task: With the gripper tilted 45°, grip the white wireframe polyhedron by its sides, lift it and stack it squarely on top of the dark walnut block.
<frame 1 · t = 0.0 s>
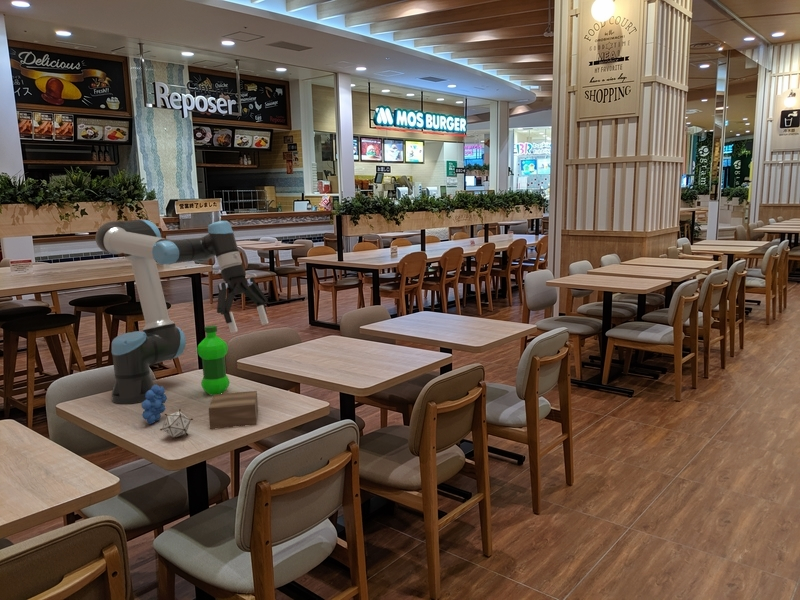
hand: (250, 328, 203), 28 cm above the table, tool tilted 20°, fingers open, 13 cm apart
white wireframe polyhedron: (177, 437, 185), on the table
plastic bottle: (216, 393, 225), on the table
grapes: (153, 421, 198), on the table
walnut block: (235, 420, 198), on the table
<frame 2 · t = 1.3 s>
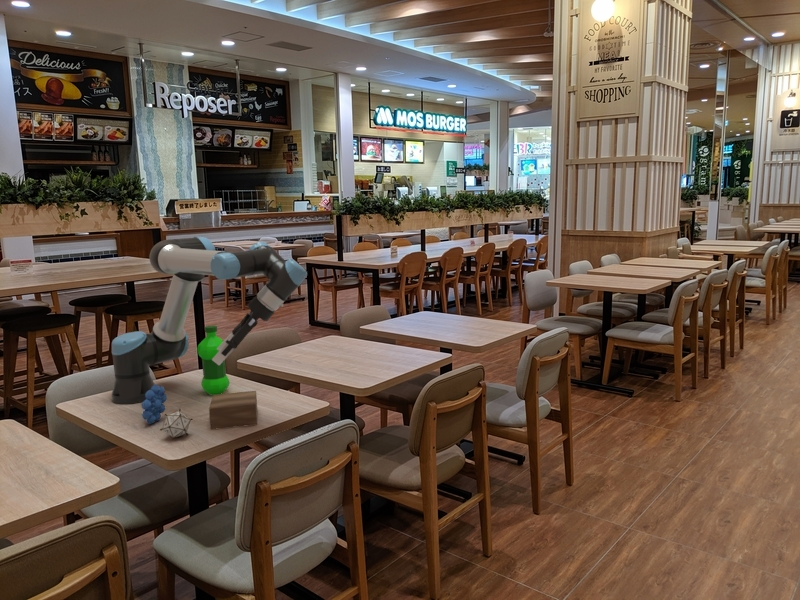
hand: (217, 356, 183), 24 cm above the table, tool tilted 45°, fingers open, 13 cm apart
nothing on the table moved.
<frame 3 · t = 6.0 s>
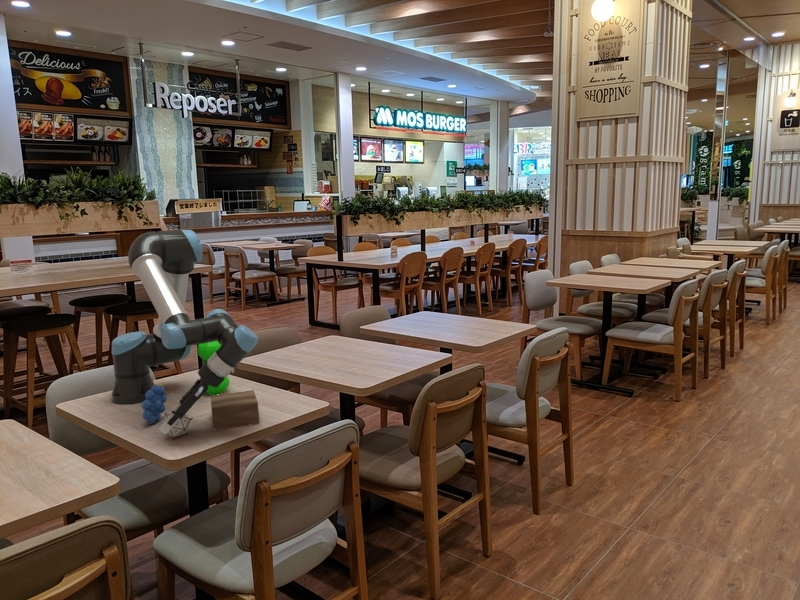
hand: (164, 426, 183), 4 cm above the table, tool tilted 45°, fingers closed on white wireframe polyhedron, 8 cm apart
white wireframe polyhedron: (177, 437, 185), on the table, touching gripper
when the fingers open (12 cm above the table, at t = 11.5 s): white wireframe polyhedron drops 2 cm, point 6 cm above the table.
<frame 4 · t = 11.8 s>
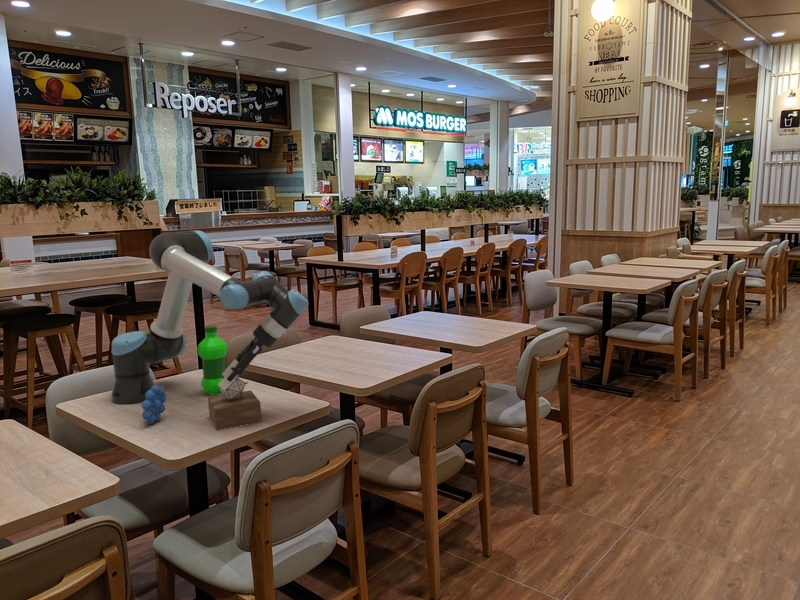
hand: (223, 381, 195), 13 cm above the table, tool tilted 45°, fingers open, 11 cm apart
white wireframe polyhedron: (233, 399, 197), point 6 cm above the table
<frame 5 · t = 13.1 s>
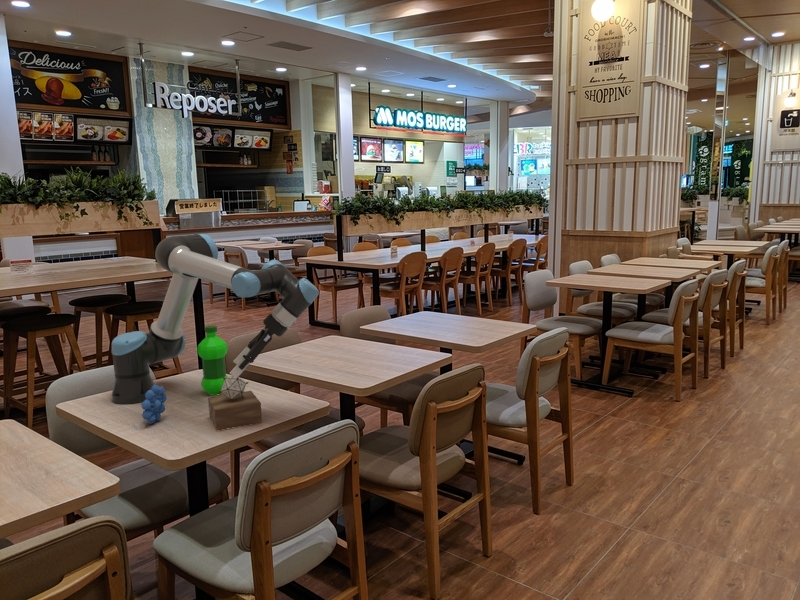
hand: (234, 369, 195), 17 cm above the table, tool tilted 45°, fingers open, 13 cm apart
white wireframe polyhedron: (234, 399, 197), point 6 cm above the table, touching walnut block
walnut block: (235, 420, 198), on the table, touching white wireframe polyhedron
everything else where it was.
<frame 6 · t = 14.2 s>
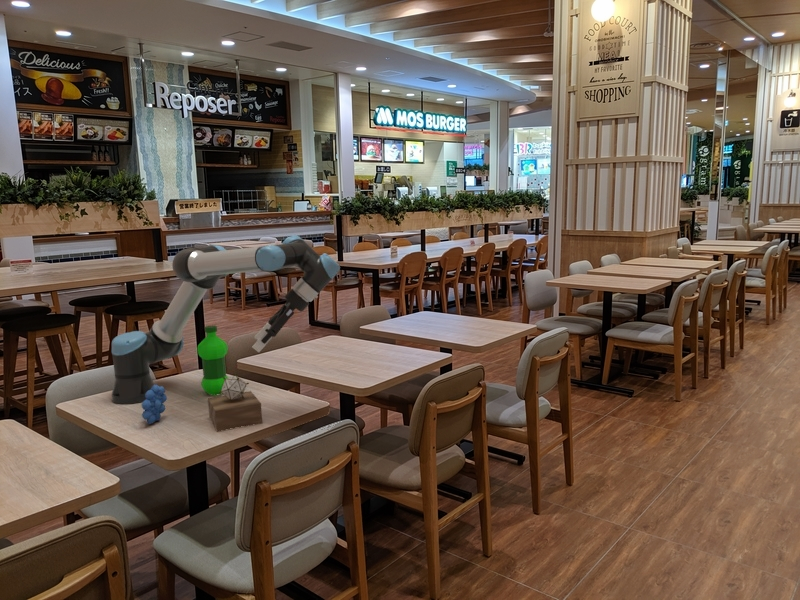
hand: (256, 344, 195), 24 cm above the table, tool tilted 45°, fingers open, 13 cm apart
white wireframe polyhedron: (234, 400, 197), point 6 cm above the table
walnut block: (235, 421, 197), on the table
everything else where it was.
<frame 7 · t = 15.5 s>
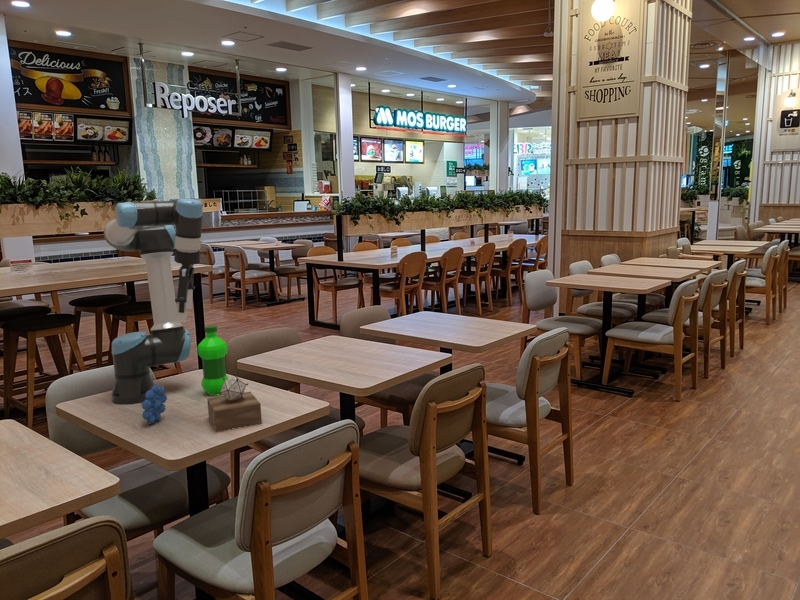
hand: (184, 315, 194), 34 cm above the table, tool pointing down, fingers open, 13 cm apart
white wireframe polyhedron: (234, 401, 196), point 6 cm above the table, touching walnut block
walnut block: (235, 421, 197), on the table, touching white wireframe polyhedron
everything else where it was.
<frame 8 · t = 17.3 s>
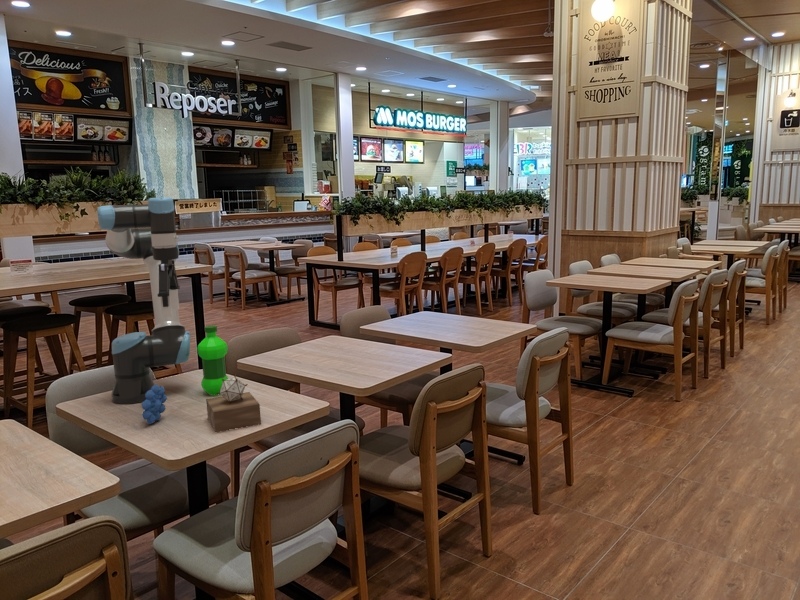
hand: (171, 313, 197), 35 cm above the table, tool pointing down, fingers open, 13 cm apart
nothing on the table moved.
at the end: white wireframe polyhedron inside the target area on the walnut block (0.2 cm from its centre), point 6.8 cm above the walnut block's base; white wireframe polyhedron tilted 1°; the gripper is holding nothing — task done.
